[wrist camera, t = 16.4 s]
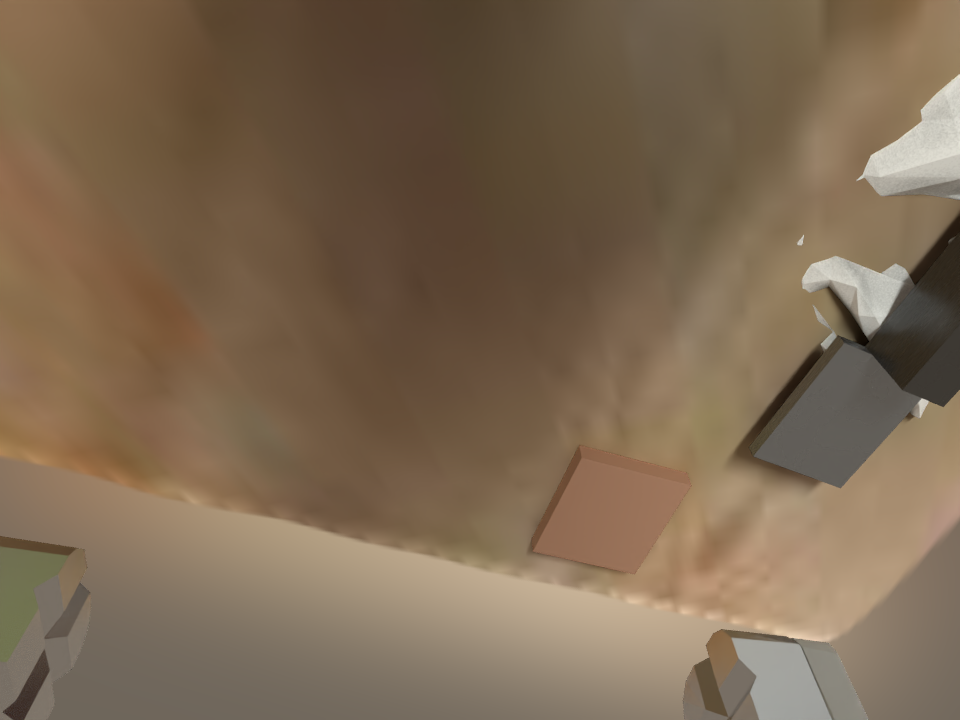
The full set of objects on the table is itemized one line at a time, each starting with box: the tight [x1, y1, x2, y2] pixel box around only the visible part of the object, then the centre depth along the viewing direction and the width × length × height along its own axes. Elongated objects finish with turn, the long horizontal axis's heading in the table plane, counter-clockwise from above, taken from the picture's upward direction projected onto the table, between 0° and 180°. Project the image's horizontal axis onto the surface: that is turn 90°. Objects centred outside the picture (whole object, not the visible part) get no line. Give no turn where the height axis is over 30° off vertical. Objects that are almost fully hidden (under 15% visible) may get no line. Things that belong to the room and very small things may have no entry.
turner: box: [749, 232, 960, 488], centre depth 37 cm, size 20×6×4 cm, turn 156°
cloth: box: [797, 74, 960, 419], centre depth 38 cm, size 26×14×2 cm, turn 165°
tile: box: [532, 445, 692, 574], centre depth 47 cm, size 2×7×8 cm
